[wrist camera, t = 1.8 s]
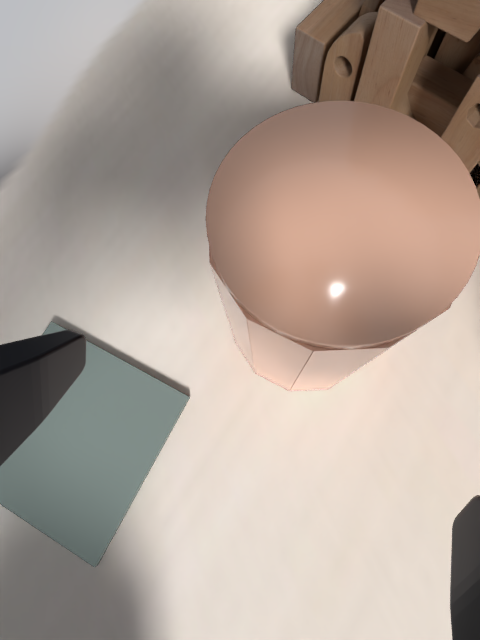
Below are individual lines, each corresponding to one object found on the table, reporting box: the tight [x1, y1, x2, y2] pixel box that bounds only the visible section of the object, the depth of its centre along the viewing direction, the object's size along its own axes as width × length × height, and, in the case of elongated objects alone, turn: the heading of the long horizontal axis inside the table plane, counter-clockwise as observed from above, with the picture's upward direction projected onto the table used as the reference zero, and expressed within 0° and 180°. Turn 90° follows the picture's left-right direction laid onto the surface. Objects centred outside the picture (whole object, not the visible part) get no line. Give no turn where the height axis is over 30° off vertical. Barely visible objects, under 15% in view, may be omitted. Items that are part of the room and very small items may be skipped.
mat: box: [0, 321, 190, 567], centre depth 21 cm, size 9×9×1 cm
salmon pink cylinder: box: [206, 101, 480, 391], centre depth 16 cm, size 8×8×11 cm
